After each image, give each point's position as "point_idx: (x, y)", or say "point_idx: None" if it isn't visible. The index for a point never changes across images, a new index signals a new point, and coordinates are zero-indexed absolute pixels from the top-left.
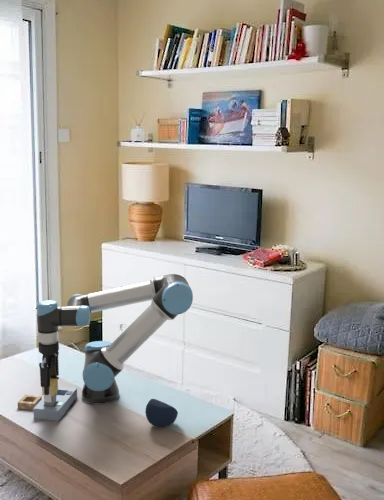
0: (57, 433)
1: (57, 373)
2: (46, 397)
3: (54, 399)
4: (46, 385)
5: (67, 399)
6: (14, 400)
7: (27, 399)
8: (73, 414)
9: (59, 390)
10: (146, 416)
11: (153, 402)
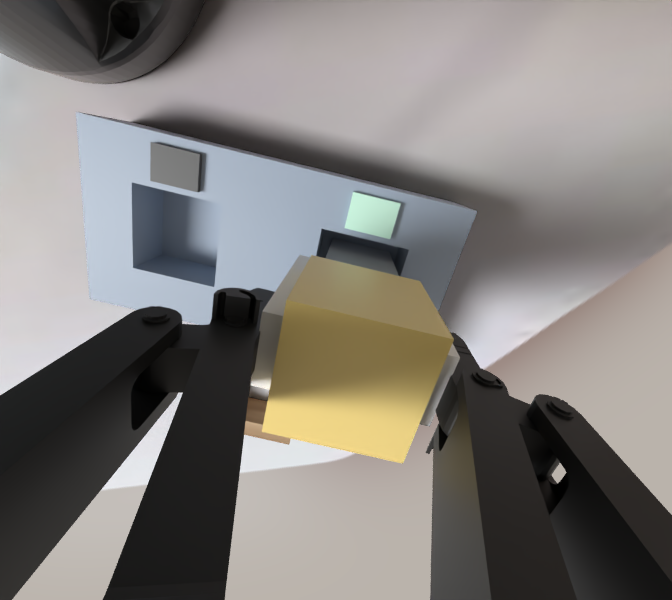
0: (627, 185)
1: (167, 334)
2: None
3: (364, 264)
4: (587, 428)
5: (288, 165)
6: None
7: None
8: (381, 111)
9: (136, 251)
10: None
11: None
